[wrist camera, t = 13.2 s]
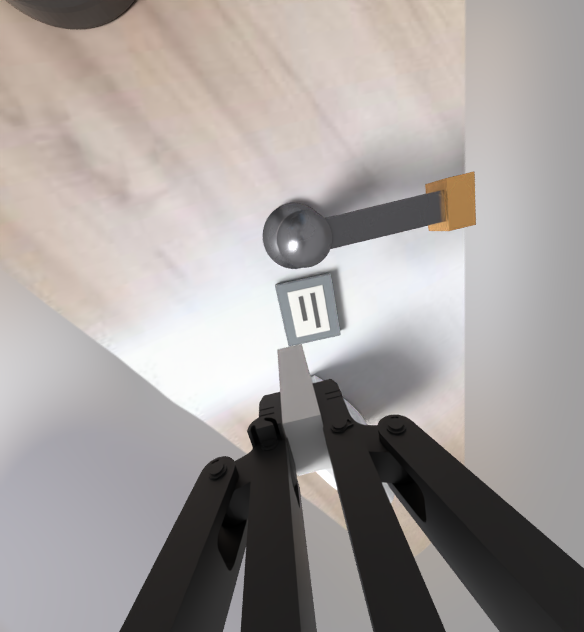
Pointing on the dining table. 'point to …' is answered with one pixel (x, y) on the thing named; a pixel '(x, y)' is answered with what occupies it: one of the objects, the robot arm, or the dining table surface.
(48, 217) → the dining table surface
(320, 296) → the label tile
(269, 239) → the round-base stand
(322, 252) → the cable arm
